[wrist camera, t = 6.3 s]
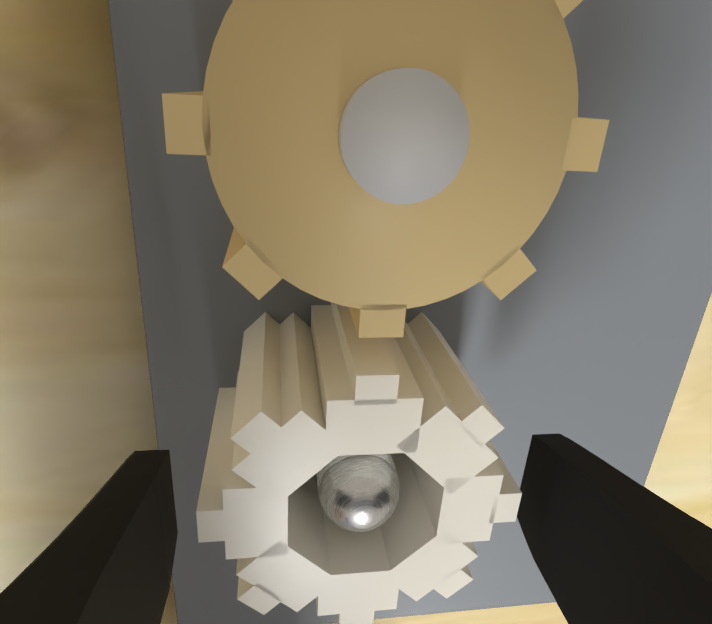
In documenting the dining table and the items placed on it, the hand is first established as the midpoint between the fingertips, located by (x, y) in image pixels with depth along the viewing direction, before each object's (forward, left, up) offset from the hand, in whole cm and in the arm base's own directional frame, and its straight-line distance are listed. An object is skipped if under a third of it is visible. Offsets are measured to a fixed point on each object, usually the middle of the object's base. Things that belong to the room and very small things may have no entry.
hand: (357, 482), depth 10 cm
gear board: (+3, +1, -4) cm, 5 cm away
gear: (0, 0, -3) cm, 3 cm away
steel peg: (0, 0, -4) cm, 4 cm away
